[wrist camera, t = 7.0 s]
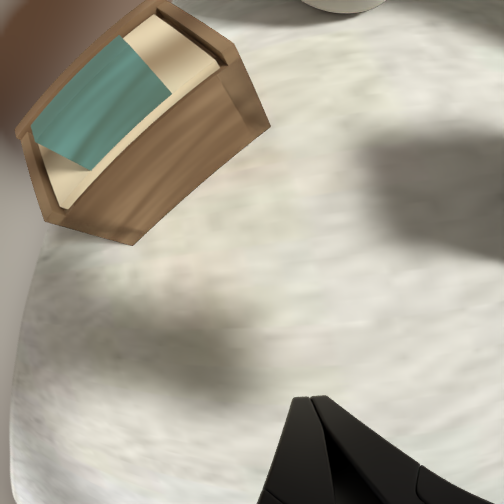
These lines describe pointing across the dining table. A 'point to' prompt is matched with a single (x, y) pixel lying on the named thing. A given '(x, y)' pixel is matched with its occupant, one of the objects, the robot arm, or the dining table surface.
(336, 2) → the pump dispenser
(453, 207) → the dining table surface
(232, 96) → the box
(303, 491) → the robot arm
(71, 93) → the lid
